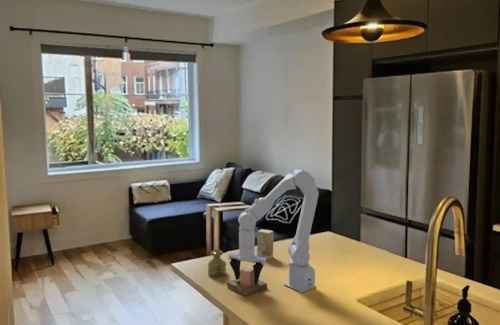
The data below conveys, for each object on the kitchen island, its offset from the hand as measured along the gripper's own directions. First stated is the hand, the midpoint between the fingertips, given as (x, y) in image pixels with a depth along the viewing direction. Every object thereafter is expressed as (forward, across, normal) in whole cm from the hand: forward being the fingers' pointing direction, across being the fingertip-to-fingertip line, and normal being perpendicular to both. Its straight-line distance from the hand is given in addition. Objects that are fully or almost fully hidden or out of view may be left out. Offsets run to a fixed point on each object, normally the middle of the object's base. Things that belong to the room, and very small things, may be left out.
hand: (247, 280), depth 164 cm
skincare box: (+3, +7, -34) cm, 35 cm away
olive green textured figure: (+3, +17, -8) cm, 19 cm away
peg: (+3, 0, 0) cm, 3 cm away
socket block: (+3, 0, 0) cm, 3 cm away
